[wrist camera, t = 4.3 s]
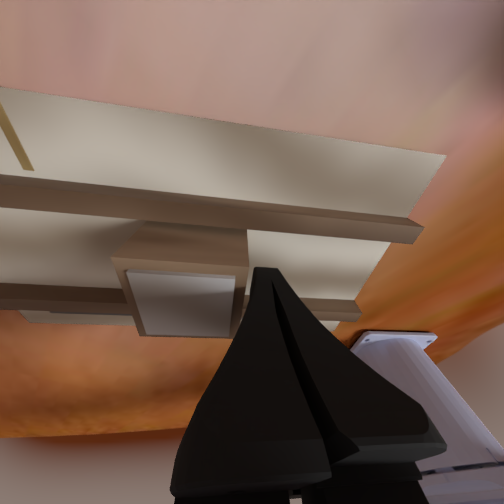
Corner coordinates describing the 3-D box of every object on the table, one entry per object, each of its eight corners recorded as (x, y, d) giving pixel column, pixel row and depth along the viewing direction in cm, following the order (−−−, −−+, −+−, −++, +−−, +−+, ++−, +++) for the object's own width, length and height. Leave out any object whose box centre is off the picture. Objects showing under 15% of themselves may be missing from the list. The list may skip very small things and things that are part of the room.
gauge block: (238, 290, 13) (237, 342, 10) (163, 286, 12) (137, 340, 9) (246, 226, 10) (249, 270, 7) (150, 216, 9) (106, 260, 6)
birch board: (329, 321, 17) (339, 344, 15) (41, 311, 14) (12, 338, 13) (428, 153, 9) (474, 159, 7) (-159, 62, 7) (-311, 38, 5)
